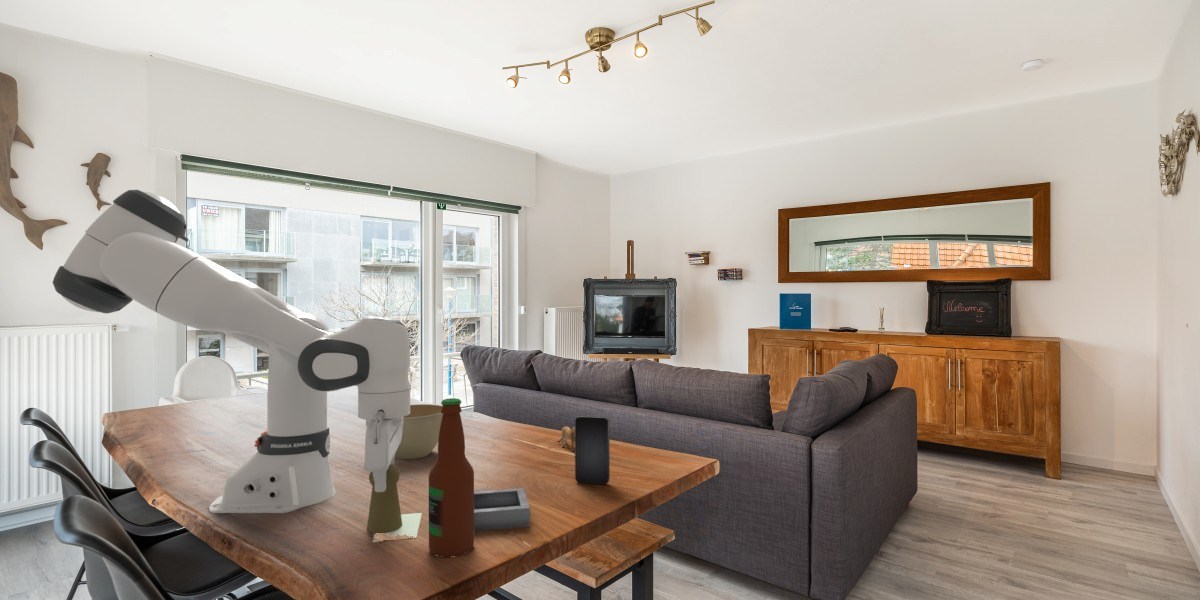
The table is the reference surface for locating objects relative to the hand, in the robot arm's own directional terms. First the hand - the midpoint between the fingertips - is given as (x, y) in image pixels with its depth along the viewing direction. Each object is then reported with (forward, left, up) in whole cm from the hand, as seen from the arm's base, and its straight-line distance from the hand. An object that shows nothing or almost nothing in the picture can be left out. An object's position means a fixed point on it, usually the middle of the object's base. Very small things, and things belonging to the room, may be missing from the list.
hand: (384, 482), depth 102 cm
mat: (0, 0, -9) cm, 9 cm away
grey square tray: (+20, +1, -9) cm, 22 cm away
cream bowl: (0, +50, -9) cm, 51 cm away
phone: (+42, +17, -9) cm, 46 cm away
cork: (0, +1, -8) cm, 8 cm away
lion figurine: (+43, +49, -9) cm, 65 cm away
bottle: (+12, -11, -9) cm, 19 cm away
